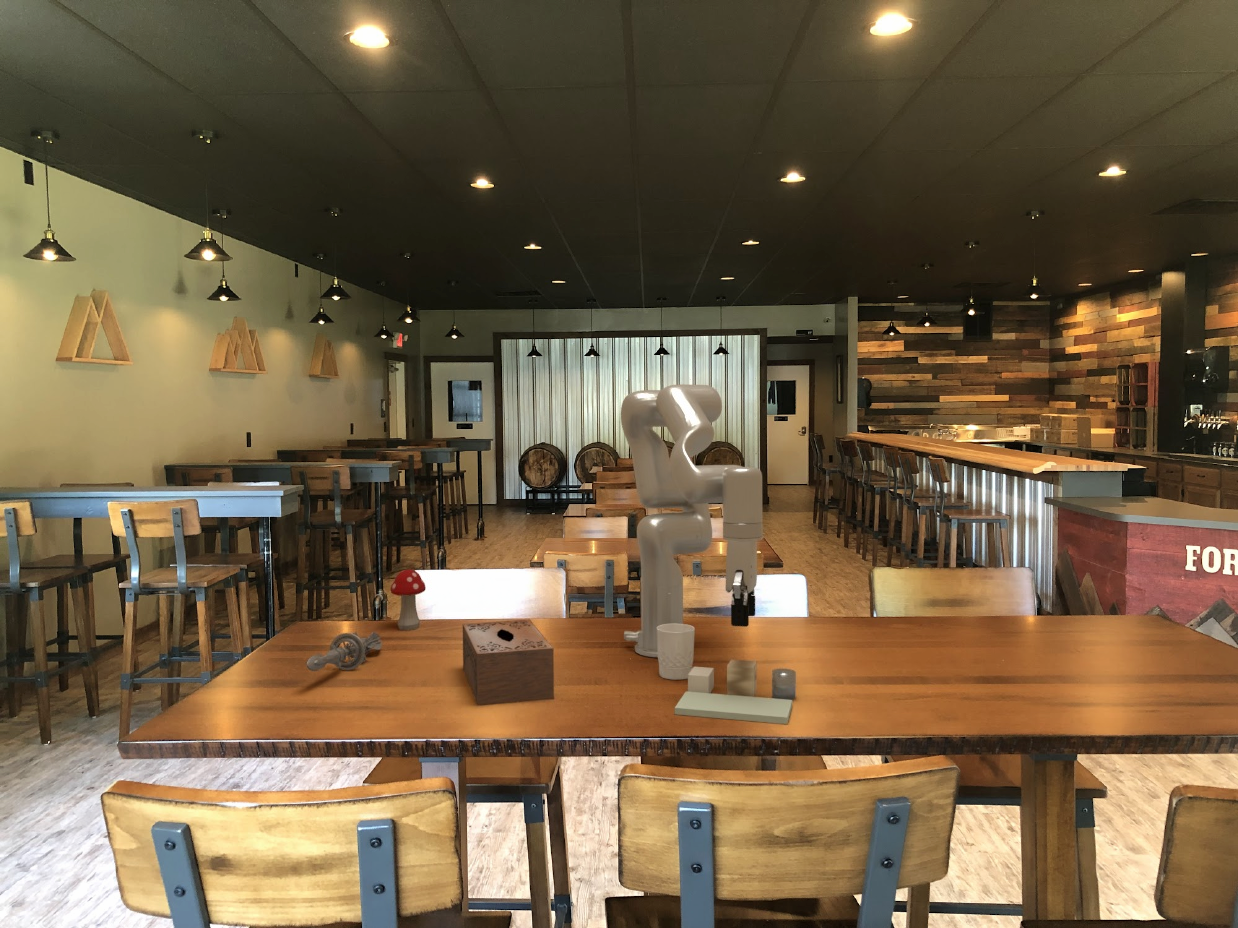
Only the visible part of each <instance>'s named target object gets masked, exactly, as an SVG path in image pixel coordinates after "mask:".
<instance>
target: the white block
mask: <svg viewBox="0 0 1238 928" xmlns="http://www.w3.org/2000/svg"><path fill="white" fill-rule="evenodd" d="M714 678H715V668H714V667H706V666H705V667H702V666H692V670H691V671H690V673H689V674H688V678H687V692H699V693H712V691H713V690H714V687H715V679H714Z"/></svg>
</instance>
